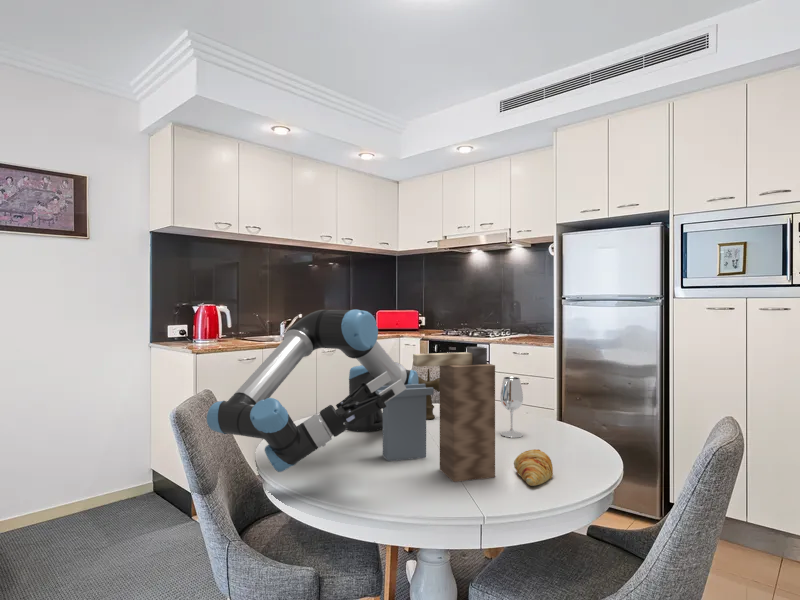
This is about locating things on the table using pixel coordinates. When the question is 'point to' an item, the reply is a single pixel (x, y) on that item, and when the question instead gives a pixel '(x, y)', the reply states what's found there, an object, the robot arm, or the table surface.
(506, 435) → the wineglass
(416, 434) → the rail stand
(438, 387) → the kendama
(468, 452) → the walnut stand
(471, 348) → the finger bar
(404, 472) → the table surface
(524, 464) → the croissant
